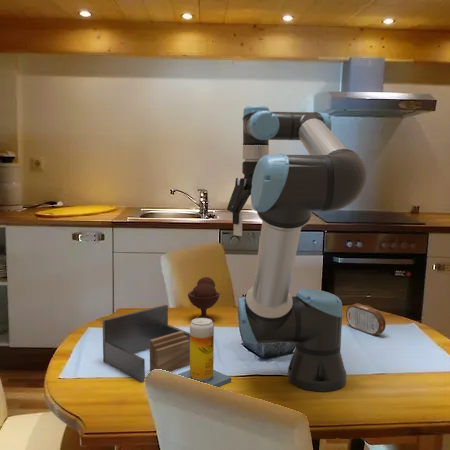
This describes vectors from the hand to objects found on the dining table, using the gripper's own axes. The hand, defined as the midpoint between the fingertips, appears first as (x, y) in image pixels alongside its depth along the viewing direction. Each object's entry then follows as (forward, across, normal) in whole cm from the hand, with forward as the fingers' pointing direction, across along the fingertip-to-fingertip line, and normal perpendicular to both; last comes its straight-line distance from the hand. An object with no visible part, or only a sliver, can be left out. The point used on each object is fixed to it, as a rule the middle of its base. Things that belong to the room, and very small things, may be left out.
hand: (254, 233), depth 160 cm
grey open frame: (+35, +29, -10) cm, 46 cm away
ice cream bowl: (+35, -5, -28) cm, 45 cm away
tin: (+35, -37, +16) cm, 53 cm away
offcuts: (+35, +29, -3) cm, 45 cm away
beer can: (+34, +28, +8) cm, 45 cm away
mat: (+35, +28, +8) cm, 45 cm away
